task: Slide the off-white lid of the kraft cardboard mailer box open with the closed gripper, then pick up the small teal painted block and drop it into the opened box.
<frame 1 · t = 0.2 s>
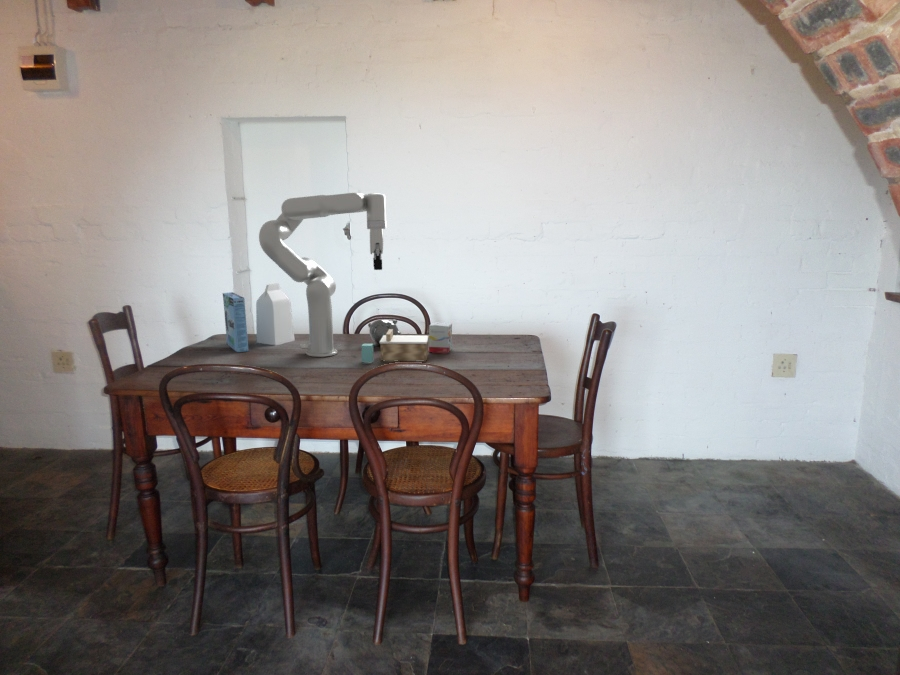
hand: (377, 268, 253), 36 cm above the table, tool pointing down, fingers open, 9 cm apart
blue cereal box: (237, 348, 272), on the table
mailer: (404, 357, 255), on the table
milk: (275, 341, 284), on the table
ink box: (440, 351, 267), on the table
piggy bank: (384, 345, 278), on the table
block: (367, 362, 248), on the table
lid: (404, 336, 253), point 9 cm above the table, slide at 0.0 cm
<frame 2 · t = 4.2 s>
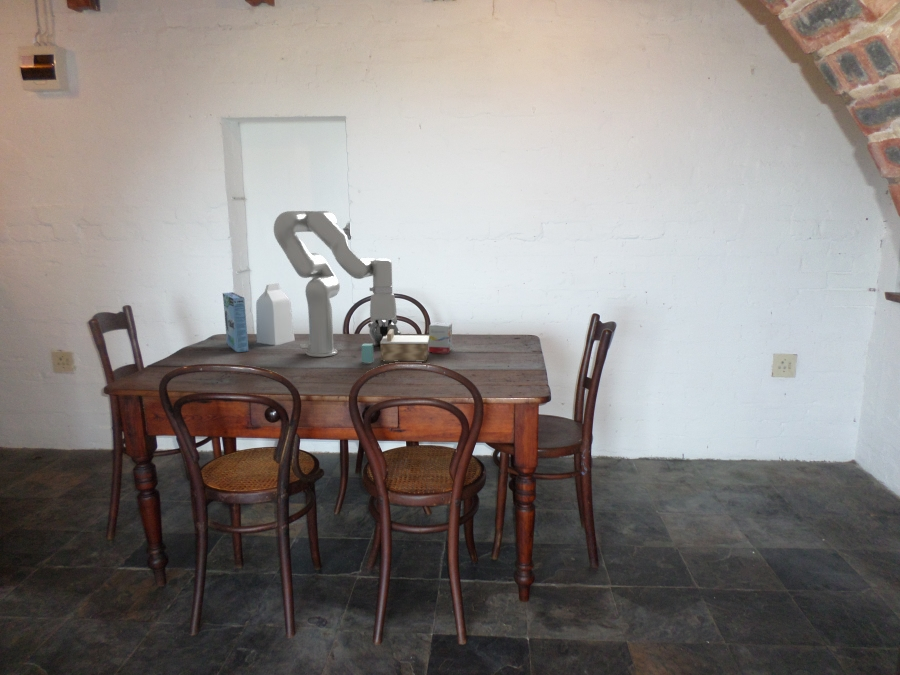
hand: (384, 335, 253), 9 cm above the table, tool pointing down, fingers closed
lid: (405, 336, 253), point 9 cm above the table, slide at 0.3 cm, touching gripper
everything else where it was.
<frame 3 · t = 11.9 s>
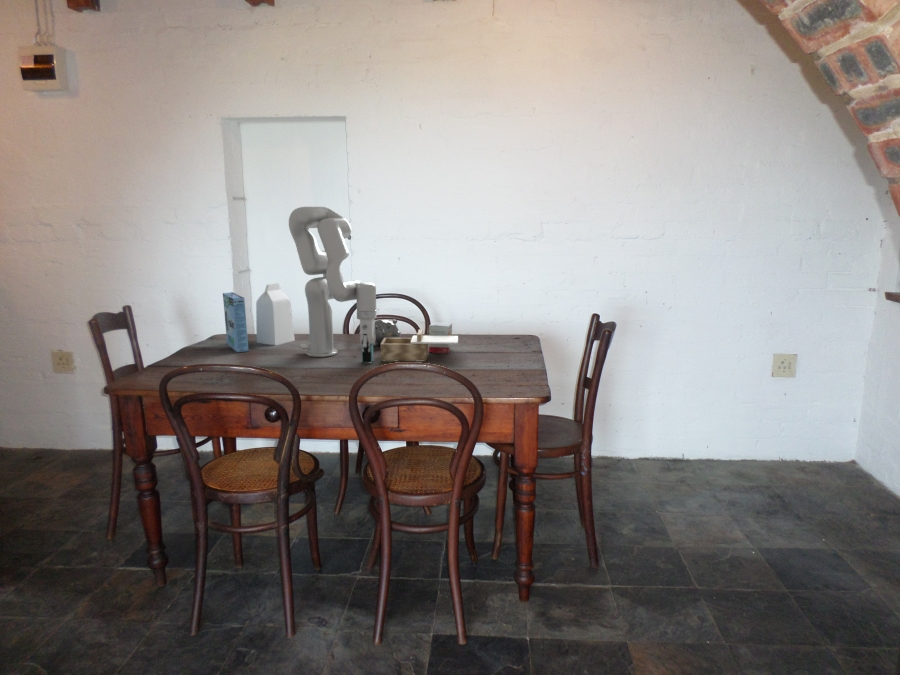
hand: (367, 359, 248), 1 cm above the table, tool pointing down, fingers closed on block, 4 cm apart
block: (367, 361, 248), on the table, touching gripper
lid: (434, 336, 253), point 9 cm above the table, slide at 12.2 cm
everything else where it was.
when the fingers open (8 cm above the table, at t = 15.8 s): block drops 7 cm, resting on mailer.
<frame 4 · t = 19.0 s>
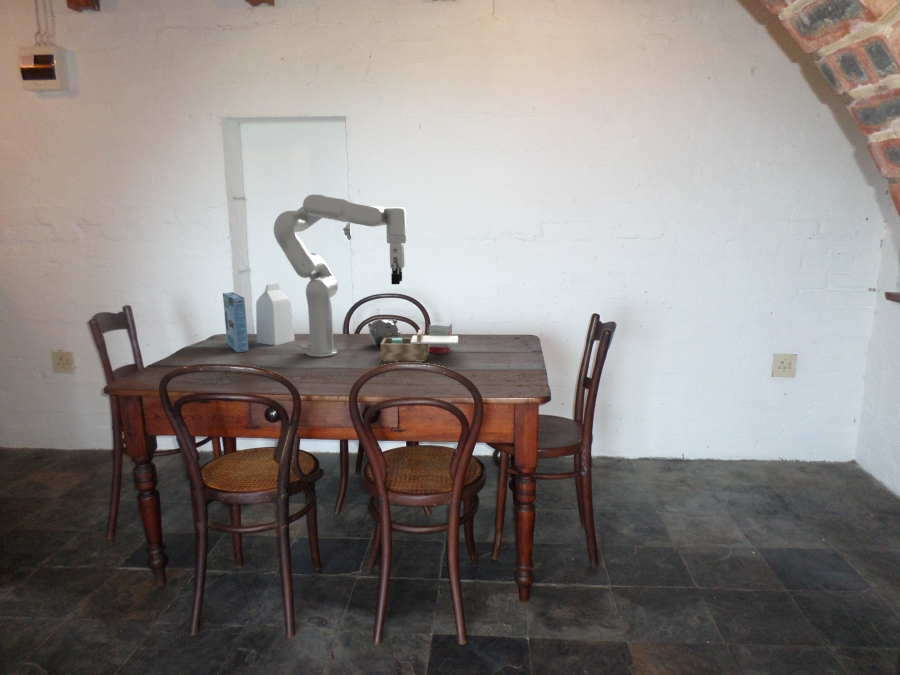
hand: (396, 282, 250), 30 cm above the table, tool pointing down, fingers open, 9 cm apart
block: (397, 355, 255), point 1 cm above the table, touching mailer
everything else where it was.
at the end: lid slide at 12.2 cm; block inside the target area on the mailer (3.0 cm from its centre), point 0.8 cm above the mailer's base; the gripper is holding nothing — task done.
